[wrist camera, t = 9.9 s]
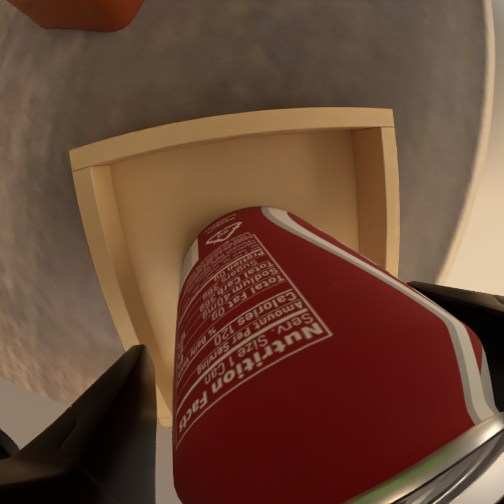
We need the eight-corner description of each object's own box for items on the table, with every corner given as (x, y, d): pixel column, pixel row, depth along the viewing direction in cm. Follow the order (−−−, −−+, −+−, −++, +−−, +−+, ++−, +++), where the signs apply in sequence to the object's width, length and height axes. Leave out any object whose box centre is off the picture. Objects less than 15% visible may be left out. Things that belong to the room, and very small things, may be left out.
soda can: (162, 314, 14) (150, 582, 2) (213, 180, 12) (399, 397, 1) (285, 347, 16) (387, 547, 4) (342, 235, 14) (560, 380, 3)
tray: (363, 345, 17) (386, 371, 15) (164, 391, 16) (163, 427, 13) (358, 114, 13) (392, 108, 10) (93, 151, 11) (67, 150, 8)
